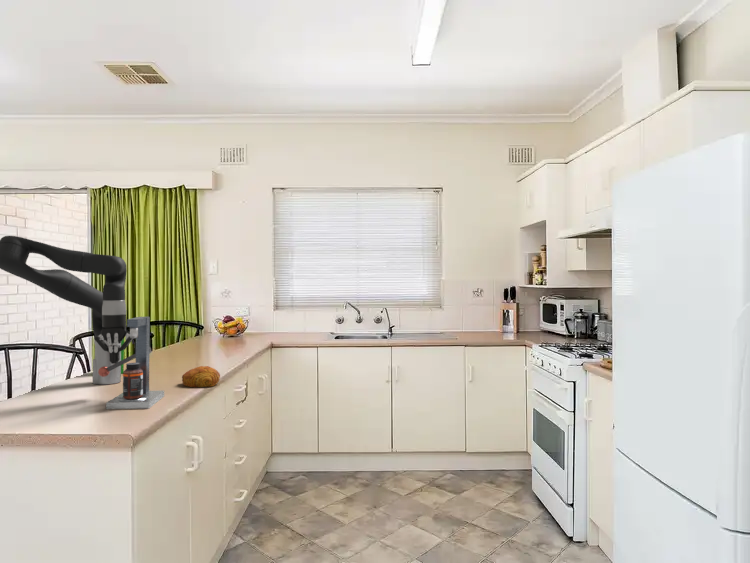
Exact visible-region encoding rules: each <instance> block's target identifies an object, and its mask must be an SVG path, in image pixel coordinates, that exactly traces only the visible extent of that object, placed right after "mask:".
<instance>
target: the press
mask: <svg viewBox="0 0 750 563" xmlns="http://www.w3.org/2000/svg"><path fill="white" fill-rule="evenodd" d="M150 320H151V318H150V316H136V317H133V318H126V328H129V334H130V338H134V339H135V353H136V358H135V363H140V369H141V370H142V371H143V396H142V397H141V398H138V399H124V398H123V392H122V393H119V395H117V396H115V397H114V398H112V399H110V400H108V401H107V402H106V403H105V410H129V409H130V410H132V409H133V410H136V409H137V410H138V409H150V408H152V407H153V406H154V405H155V404H157V403H158V402H159V401H160V400H162V399H163V398H164V397H165V390H150V354H149V347H151V346H150V344H151V343H150V335H151V333H150V329H151V328H150V326H151V324H150Z"/></svg>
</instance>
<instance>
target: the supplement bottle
mask: <svg viewBox="0 0 750 563" xmlns="http://www.w3.org/2000/svg"><path fill="white" fill-rule="evenodd" d="M125 365H126V366H125V367H126V368H125V370H124V372H123V374H122V393H123V398H124V399H138V398H141V397H142V396H143V371H142V370H141V369H140V363H136V362H129V363H128V362H127V363H125Z"/></svg>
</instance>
